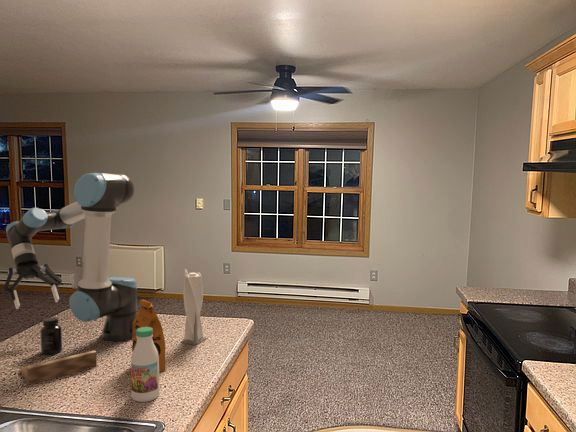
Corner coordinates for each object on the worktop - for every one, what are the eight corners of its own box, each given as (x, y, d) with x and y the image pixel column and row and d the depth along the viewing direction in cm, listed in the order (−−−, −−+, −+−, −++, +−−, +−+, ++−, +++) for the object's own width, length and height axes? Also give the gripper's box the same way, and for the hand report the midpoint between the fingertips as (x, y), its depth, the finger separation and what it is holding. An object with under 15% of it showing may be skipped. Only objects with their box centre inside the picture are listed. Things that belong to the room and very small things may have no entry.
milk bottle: (135, 390, 132) (134, 324, 130) (161, 389, 132) (160, 324, 131) (128, 403, 124) (126, 333, 122) (156, 402, 125) (155, 333, 123)
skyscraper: (178, 341, 171) (177, 270, 168) (190, 335, 178) (189, 266, 176) (196, 345, 167) (195, 272, 165) (208, 338, 175) (207, 268, 172)
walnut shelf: (85, 355, 157) (84, 341, 156) (96, 366, 148) (96, 351, 147) (20, 371, 144) (19, 356, 143) (28, 384, 135) (28, 368, 134)
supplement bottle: (66, 349, 162) (65, 317, 161) (51, 356, 156) (50, 323, 155) (52, 347, 164) (51, 315, 163) (36, 353, 158) (35, 321, 157)
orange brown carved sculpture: (138, 378, 140) (136, 309, 138) (130, 363, 150) (129, 300, 148) (169, 371, 145) (168, 305, 143) (159, 357, 155) (159, 296, 153)
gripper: (55, 259, 186) (69, 302, 177) (-15, 266, 167) (-3, 315, 159) (60, 248, 182) (75, 293, 173) (-11, 255, 163) (2, 305, 155)
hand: (38, 304), depth 166 cm, fingers open, 13 cm apart
